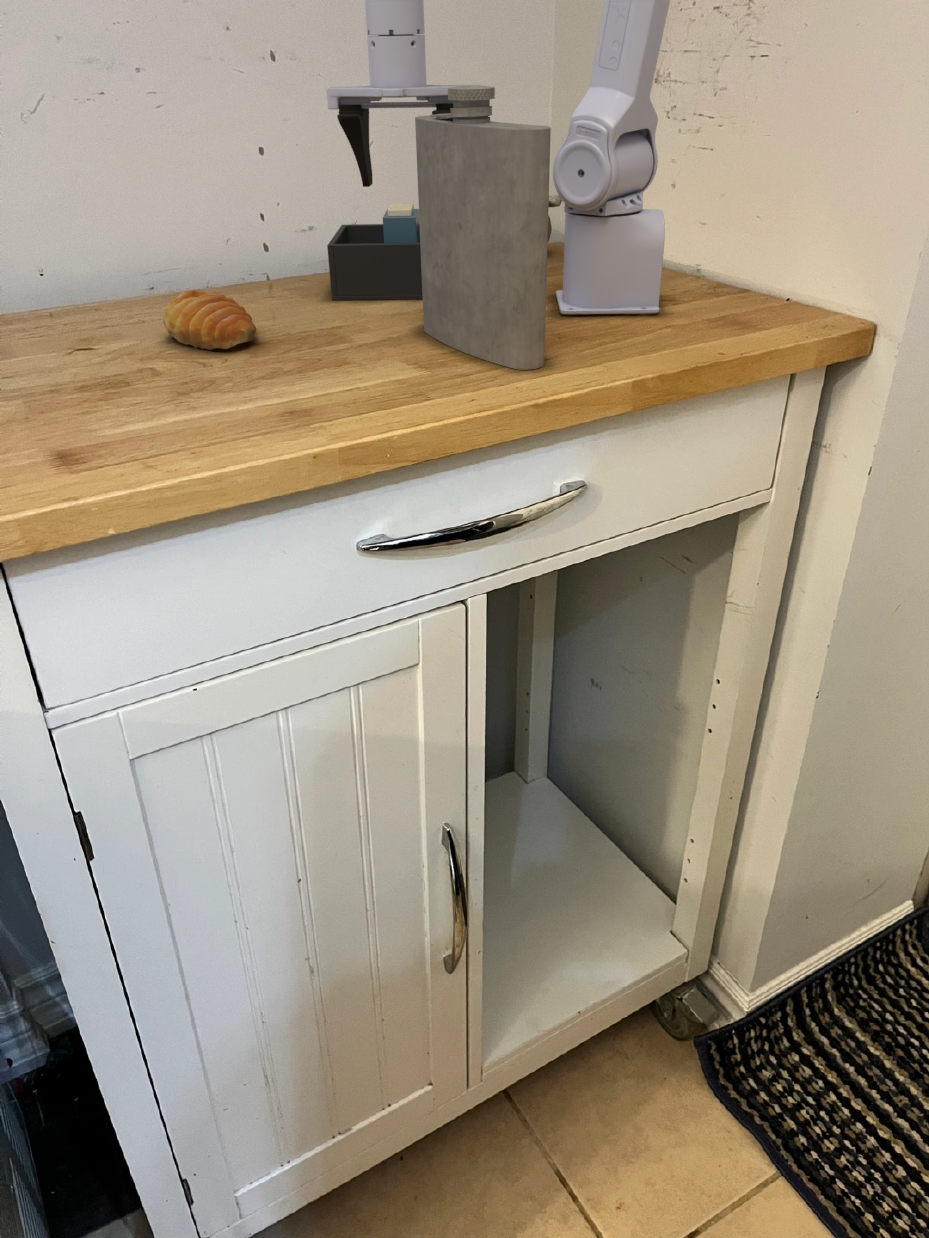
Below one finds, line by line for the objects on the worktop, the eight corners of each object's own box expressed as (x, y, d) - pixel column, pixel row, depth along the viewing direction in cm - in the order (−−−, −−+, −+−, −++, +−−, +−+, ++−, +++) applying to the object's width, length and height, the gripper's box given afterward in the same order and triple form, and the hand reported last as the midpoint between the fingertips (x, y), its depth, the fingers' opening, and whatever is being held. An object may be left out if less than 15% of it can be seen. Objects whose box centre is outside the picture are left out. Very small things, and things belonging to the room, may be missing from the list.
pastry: (277, 342, 84) (271, 299, 82) (212, 360, 81) (204, 315, 78) (220, 323, 90) (213, 282, 88) (157, 339, 86) (148, 296, 84)
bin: (470, 273, 106) (470, 222, 103) (469, 298, 97) (468, 243, 94) (345, 275, 106) (341, 224, 103) (332, 300, 97) (327, 245, 94)
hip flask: (552, 365, 78) (560, 88, 67) (512, 374, 76) (515, 91, 65) (445, 323, 89) (438, 80, 78) (409, 331, 87) (396, 82, 76)
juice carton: (421, 277, 103) (418, 202, 99) (418, 288, 99) (415, 210, 95) (390, 277, 103) (386, 203, 99) (386, 288, 99) (382, 211, 95)
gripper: (315, 37, 90) (328, 191, 97) (465, 35, 89) (467, 190, 96) (330, 36, 96) (342, 181, 103) (471, 34, 95) (473, 180, 102)
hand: (403, 185), depth 100 cm, fingers open, 7 cm apart
